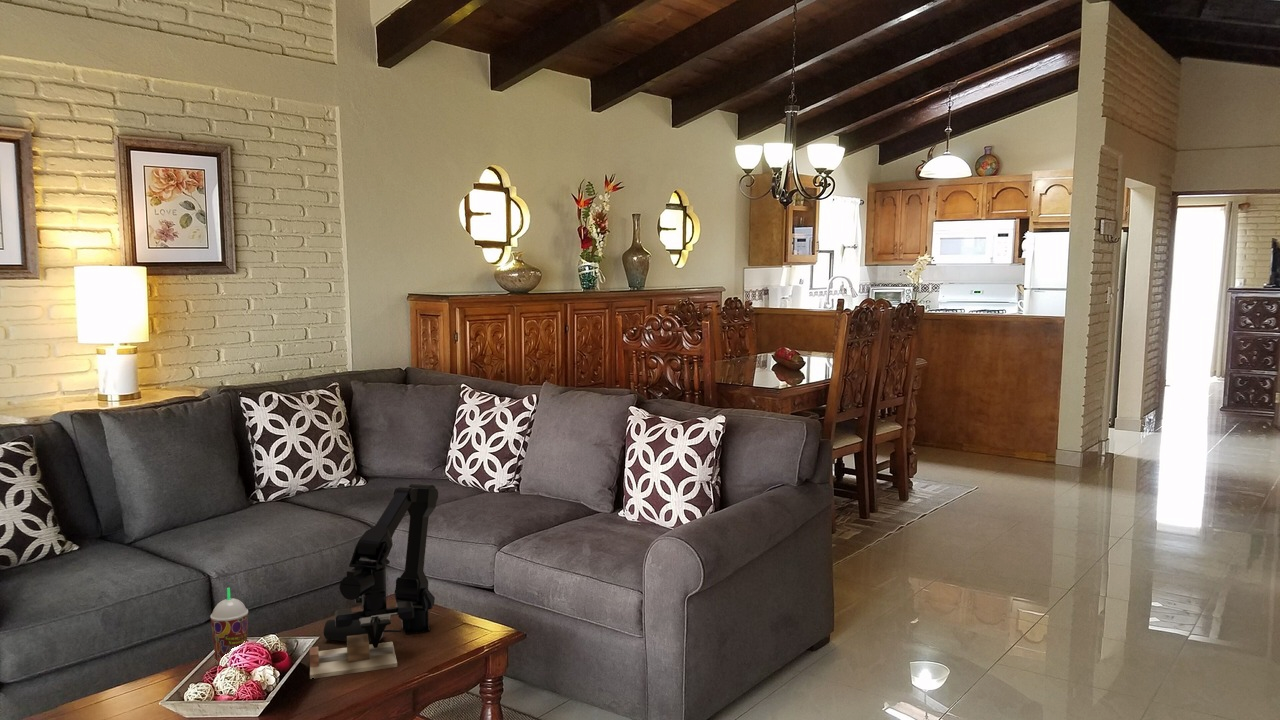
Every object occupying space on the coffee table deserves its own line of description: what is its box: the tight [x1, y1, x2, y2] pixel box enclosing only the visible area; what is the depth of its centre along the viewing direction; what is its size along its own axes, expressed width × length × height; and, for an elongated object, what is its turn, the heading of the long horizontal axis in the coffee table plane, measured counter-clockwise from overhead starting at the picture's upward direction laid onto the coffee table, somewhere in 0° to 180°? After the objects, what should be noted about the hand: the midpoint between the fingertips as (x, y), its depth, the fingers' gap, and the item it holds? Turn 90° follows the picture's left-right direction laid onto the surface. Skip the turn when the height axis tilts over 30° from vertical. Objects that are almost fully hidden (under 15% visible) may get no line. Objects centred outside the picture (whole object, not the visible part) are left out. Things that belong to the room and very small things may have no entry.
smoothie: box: [209, 587, 249, 662], centre depth 216 cm, size 8×8×20 cm
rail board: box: [309, 641, 398, 680], centre depth 220 cm, size 20×14×4 cm
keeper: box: [346, 634, 370, 662], centre depth 221 cm, size 5×6×4 cm
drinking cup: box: [323, 617, 402, 645], centre depth 233 cm, size 8×8×20 cm
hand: (375, 647), depth 222 cm, fingers closed
